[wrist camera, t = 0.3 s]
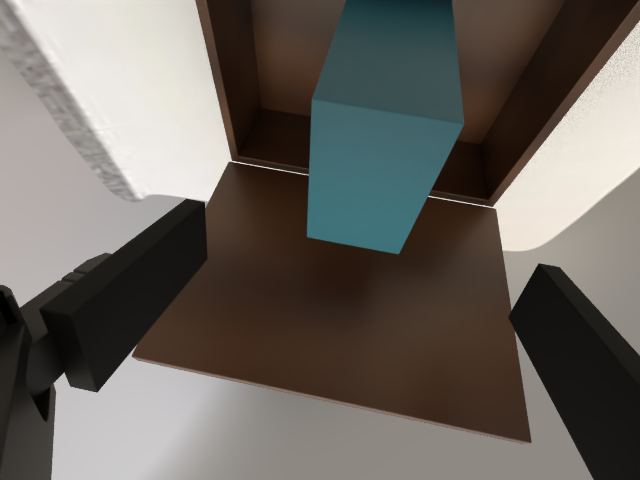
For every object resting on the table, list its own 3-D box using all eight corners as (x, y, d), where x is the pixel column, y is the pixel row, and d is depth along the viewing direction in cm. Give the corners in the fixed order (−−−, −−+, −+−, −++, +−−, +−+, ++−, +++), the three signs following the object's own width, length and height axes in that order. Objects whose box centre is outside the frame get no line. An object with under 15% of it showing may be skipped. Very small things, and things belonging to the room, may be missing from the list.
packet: (363, -50, 17) (311, 98, 10) (448, -39, 17) (465, 123, 9) (345, 83, 24) (306, 237, 16) (408, 93, 23) (399, 254, 16)
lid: (130, 356, 16) (179, 384, 22) (532, 443, 15) (460, 446, 21) (228, 161, 23) (243, 224, 30) (496, 208, 22) (451, 263, 29)
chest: (230, -119, 17) (175, -86, 13) (615, -71, 16) (672, -20, 12) (257, 108, 28) (231, 161, 24) (483, 146, 27) (492, 207, 23)
